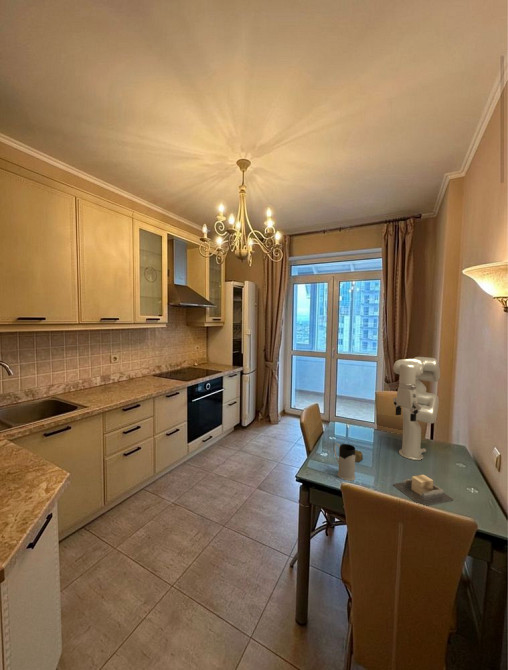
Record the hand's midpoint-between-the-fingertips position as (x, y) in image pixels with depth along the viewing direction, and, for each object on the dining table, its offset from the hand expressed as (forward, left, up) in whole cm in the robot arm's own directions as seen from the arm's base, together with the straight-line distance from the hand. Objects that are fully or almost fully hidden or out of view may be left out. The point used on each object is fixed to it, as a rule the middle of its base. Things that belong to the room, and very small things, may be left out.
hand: (405, 417), depth 144 cm
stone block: (+20, -17, -29) cm, 39 cm away
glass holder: (+35, -4, -28) cm, 45 cm away
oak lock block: (+8, +19, -28) cm, 34 cm away
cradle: (+8, +19, -28) cm, 35 cm away
